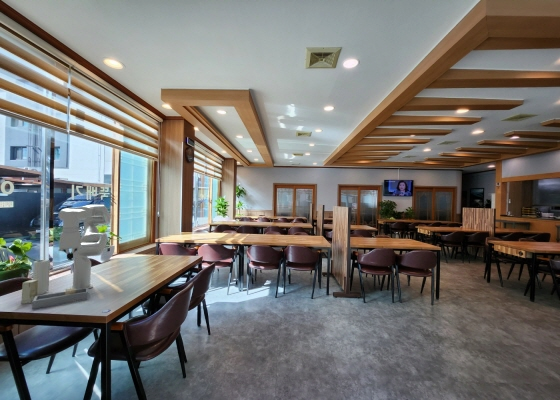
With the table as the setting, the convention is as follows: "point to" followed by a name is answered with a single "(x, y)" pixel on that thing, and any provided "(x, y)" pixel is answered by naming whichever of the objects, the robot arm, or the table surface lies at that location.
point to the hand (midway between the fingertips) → (70, 259)
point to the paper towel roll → (41, 275)
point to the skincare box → (29, 291)
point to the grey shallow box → (59, 298)
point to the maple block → (70, 291)
